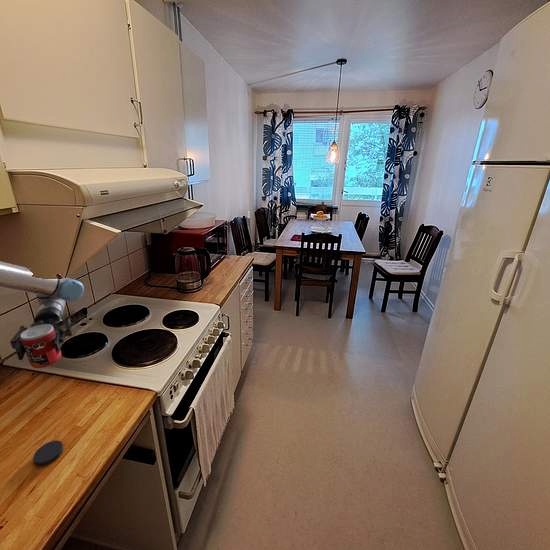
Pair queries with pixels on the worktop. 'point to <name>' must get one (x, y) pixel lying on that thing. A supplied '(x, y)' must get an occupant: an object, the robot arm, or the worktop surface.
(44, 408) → the worktop surface
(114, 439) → the worktop surface
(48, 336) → the canned food
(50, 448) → the pad
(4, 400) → the worktop surface
